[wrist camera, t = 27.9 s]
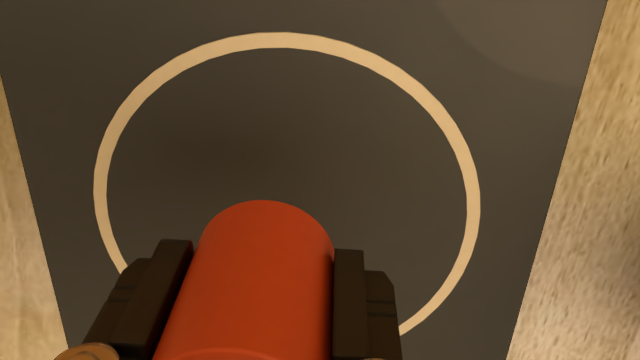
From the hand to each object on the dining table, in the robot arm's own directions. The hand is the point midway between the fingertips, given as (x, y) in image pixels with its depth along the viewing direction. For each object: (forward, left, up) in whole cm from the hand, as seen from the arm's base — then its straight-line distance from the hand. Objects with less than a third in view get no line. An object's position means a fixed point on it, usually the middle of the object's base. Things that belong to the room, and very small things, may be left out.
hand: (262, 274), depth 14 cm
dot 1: (0, 0, -1) cm, 1 cm away
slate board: (0, -3, -7) cm, 8 cm away
